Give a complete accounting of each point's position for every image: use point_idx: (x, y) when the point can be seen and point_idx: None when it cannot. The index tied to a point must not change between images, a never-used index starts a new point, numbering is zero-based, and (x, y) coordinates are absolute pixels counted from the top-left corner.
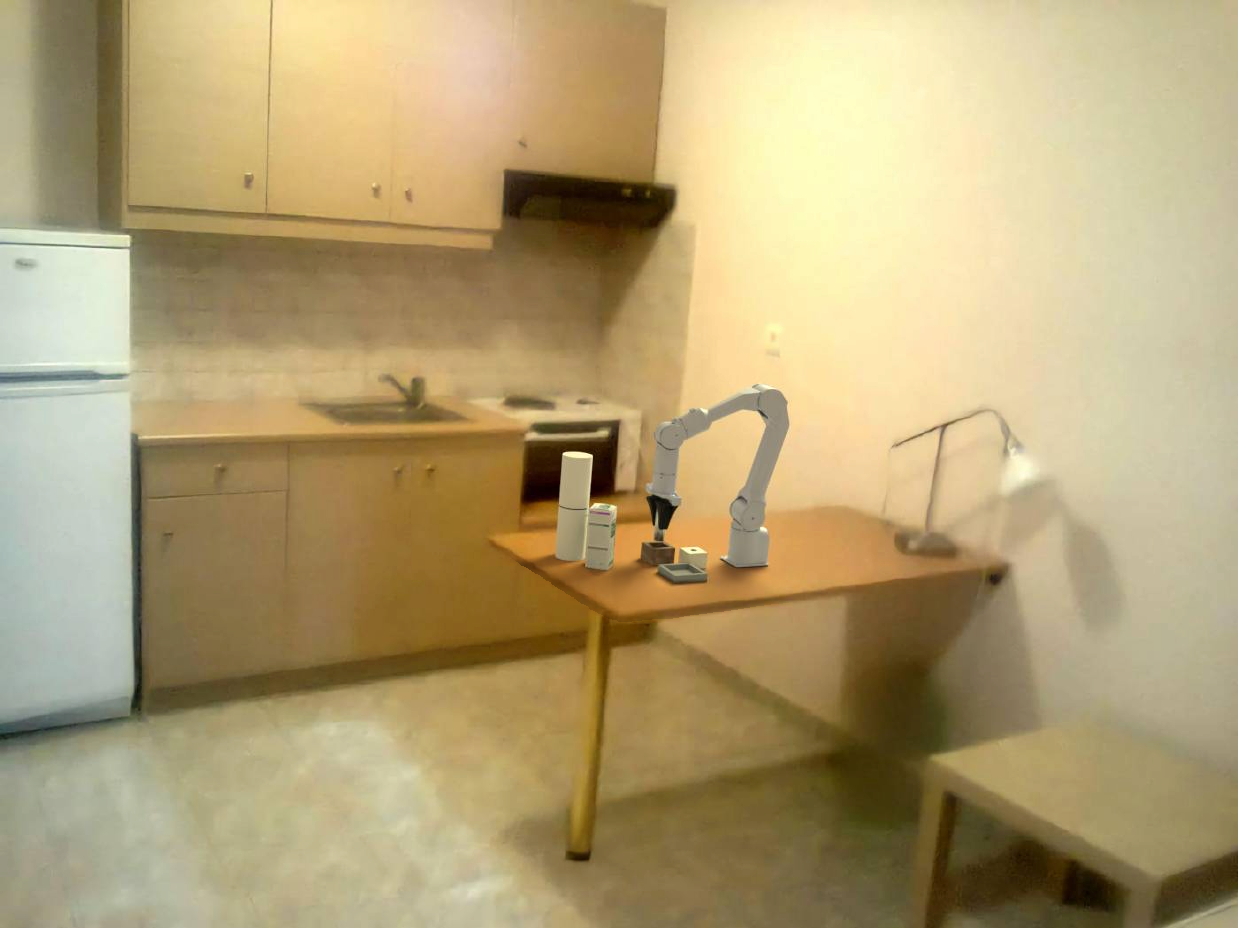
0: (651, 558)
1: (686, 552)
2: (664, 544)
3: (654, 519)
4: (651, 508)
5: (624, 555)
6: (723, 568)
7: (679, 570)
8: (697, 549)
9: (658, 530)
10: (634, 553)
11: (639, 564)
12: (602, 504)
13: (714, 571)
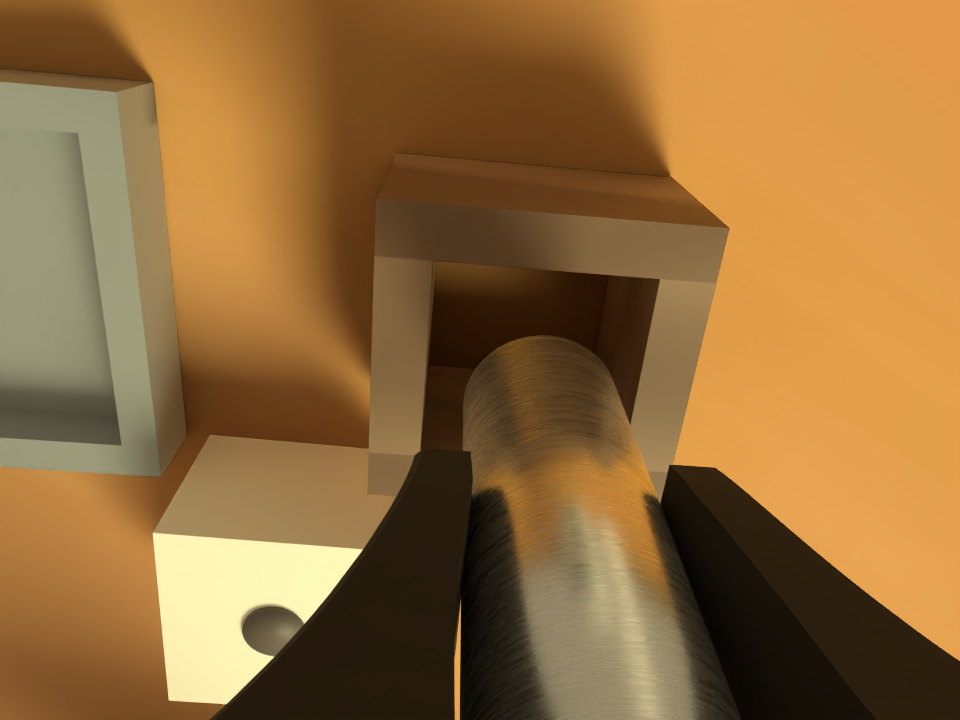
0: (407, 168)
1: (225, 534)
2: None
3: (709, 549)
4: (915, 709)
5: (827, 34)
6: None
7: (88, 308)
8: None
9: (492, 441)
10: (833, 198)
11: (461, 23)
12: None
13: (124, 600)
